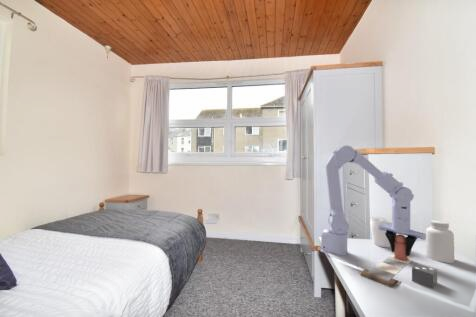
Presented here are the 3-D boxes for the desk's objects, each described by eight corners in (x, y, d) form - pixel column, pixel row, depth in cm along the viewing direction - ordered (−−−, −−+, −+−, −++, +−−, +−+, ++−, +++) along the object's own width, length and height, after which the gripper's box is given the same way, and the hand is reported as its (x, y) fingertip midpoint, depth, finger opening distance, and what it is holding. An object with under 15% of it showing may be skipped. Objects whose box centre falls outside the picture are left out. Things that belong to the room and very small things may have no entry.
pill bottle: (425, 254, 90) (425, 218, 91) (453, 260, 85) (452, 221, 86) (426, 261, 84) (426, 222, 85) (455, 267, 79) (455, 226, 80)
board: (360, 275, 73) (360, 271, 73) (391, 254, 90) (391, 251, 90) (392, 287, 66) (392, 283, 66) (418, 262, 83) (418, 259, 83)
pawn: (392, 257, 84) (392, 234, 85) (396, 255, 87) (396, 232, 87) (405, 261, 81) (405, 237, 82) (408, 258, 84) (408, 235, 84)
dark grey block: (411, 284, 68) (411, 267, 68) (416, 279, 71) (416, 263, 71) (433, 291, 64) (433, 274, 64) (437, 286, 67) (437, 269, 67)
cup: (386, 243, 103) (387, 217, 103) (399, 251, 94) (399, 223, 94) (366, 242, 104) (366, 217, 104) (376, 250, 95) (376, 222, 95)
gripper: (428, 220, 81) (428, 257, 81) (383, 212, 93) (383, 245, 92) (422, 223, 77) (422, 262, 77) (376, 214, 88) (376, 248, 88)
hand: (400, 253), depth 84 cm, fingers closed on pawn, 4 cm apart
